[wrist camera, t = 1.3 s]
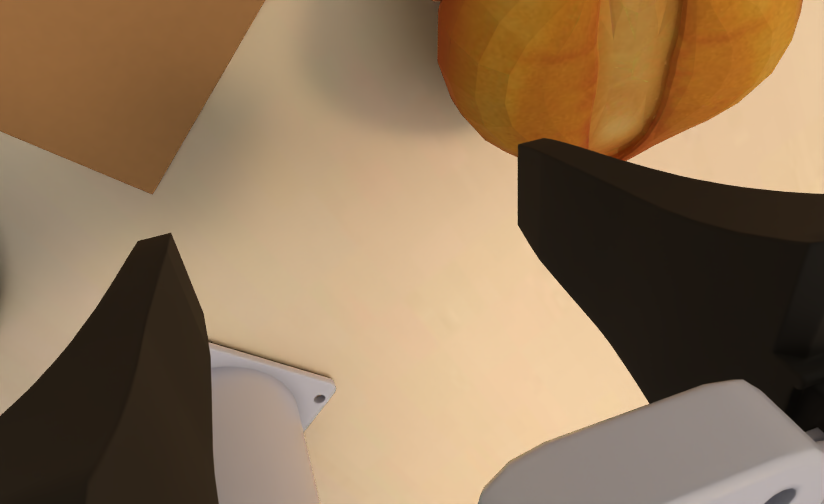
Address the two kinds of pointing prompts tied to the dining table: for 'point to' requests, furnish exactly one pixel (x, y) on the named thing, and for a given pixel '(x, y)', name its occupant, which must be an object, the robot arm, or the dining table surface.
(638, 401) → the dining table surface
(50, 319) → the dining table surface
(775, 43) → the cheeseburger
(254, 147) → the dining table surface
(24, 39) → the placemat
